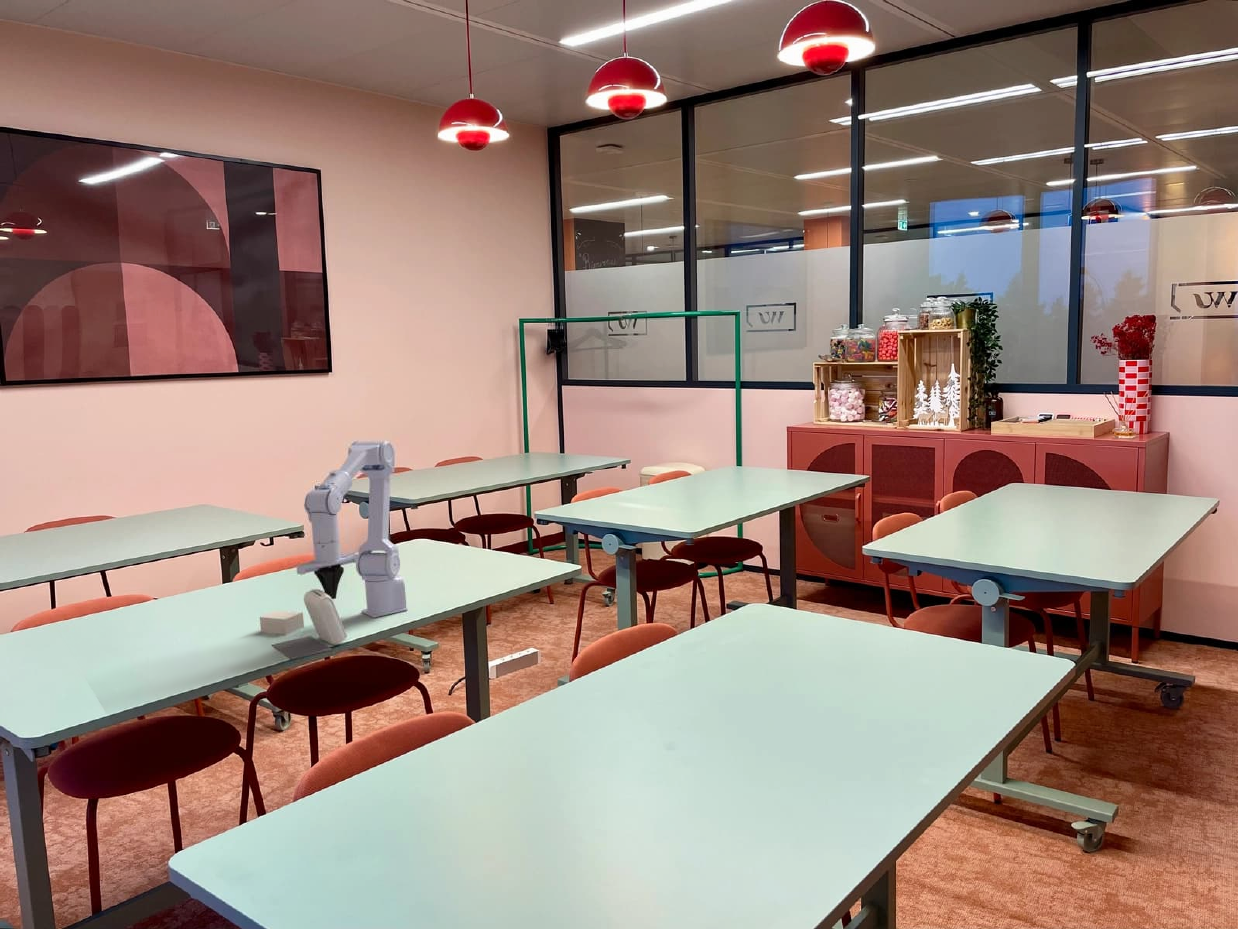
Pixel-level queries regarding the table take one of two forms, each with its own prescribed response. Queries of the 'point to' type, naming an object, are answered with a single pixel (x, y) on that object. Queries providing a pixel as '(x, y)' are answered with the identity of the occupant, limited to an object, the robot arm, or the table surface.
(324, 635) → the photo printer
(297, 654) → the mat
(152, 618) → the table surface
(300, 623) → the card box
